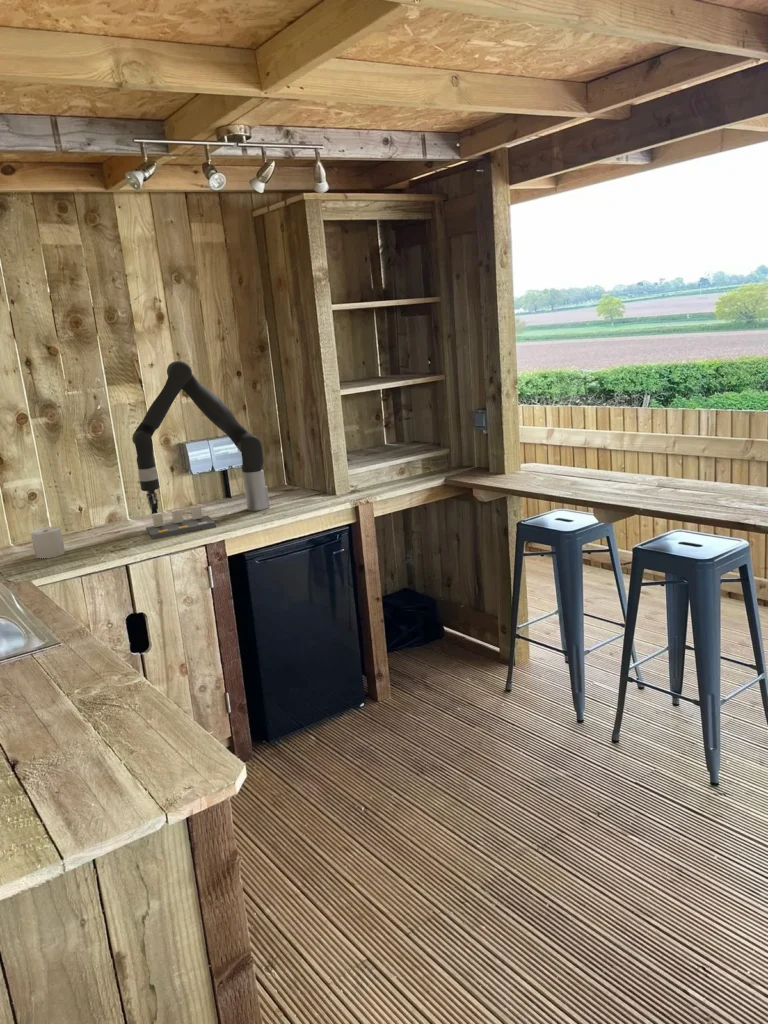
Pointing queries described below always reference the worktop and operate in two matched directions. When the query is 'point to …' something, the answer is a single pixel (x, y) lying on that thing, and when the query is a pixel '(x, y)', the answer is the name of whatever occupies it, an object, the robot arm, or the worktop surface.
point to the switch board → (180, 527)
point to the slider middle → (177, 515)
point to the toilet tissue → (47, 542)
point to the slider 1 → (158, 519)
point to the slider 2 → (196, 512)
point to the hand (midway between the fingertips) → (155, 518)
